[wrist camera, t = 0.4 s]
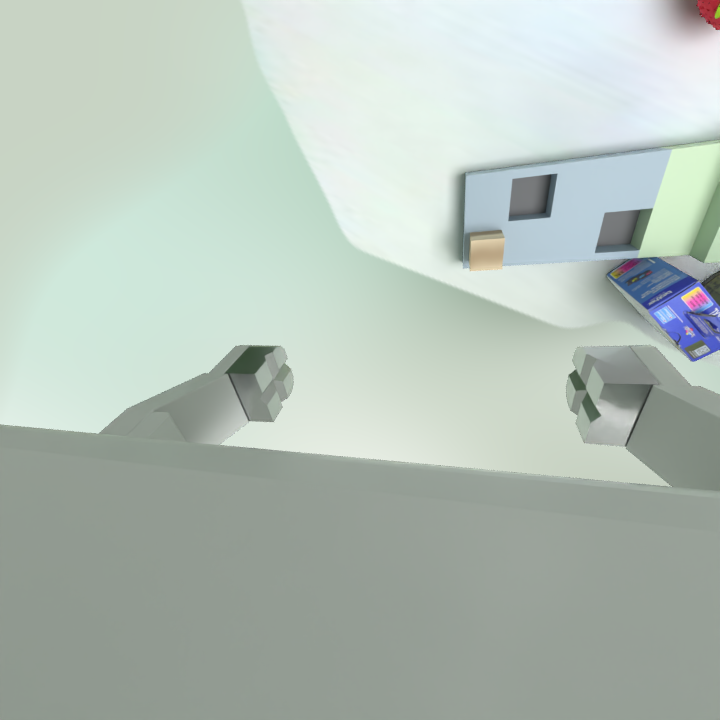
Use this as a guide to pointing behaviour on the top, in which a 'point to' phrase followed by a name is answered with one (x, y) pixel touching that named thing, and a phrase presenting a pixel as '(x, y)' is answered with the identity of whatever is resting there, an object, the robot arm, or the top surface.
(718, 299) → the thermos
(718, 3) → the strawberry
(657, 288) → the ink cartridge box
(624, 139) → the top surface
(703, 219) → the trap board
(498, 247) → the beech block
